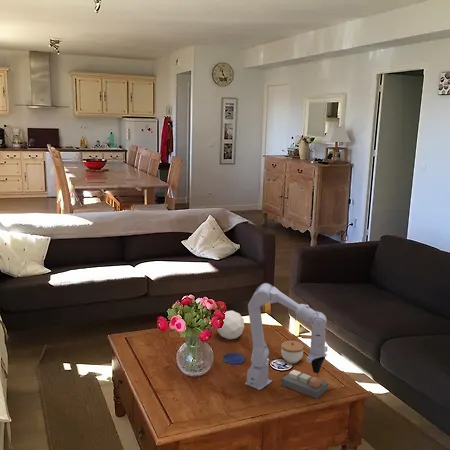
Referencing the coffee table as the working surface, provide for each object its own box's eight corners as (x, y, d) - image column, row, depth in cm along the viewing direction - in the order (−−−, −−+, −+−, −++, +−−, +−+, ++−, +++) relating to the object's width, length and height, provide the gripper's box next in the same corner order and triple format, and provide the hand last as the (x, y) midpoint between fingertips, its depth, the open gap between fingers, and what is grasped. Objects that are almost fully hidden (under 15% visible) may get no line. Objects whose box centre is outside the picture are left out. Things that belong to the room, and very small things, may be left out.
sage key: (306, 385, 216) (306, 379, 215) (298, 382, 218) (299, 376, 218) (310, 381, 219) (311, 376, 218) (303, 378, 221) (303, 373, 220)
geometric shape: (231, 349, 264) (226, 335, 253) (213, 331, 273) (208, 316, 262) (251, 332, 268) (248, 317, 257) (233, 315, 277) (229, 300, 266)
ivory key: (296, 381, 219) (296, 375, 218) (288, 378, 221) (289, 372, 221) (300, 377, 222) (301, 372, 221) (293, 375, 224) (293, 369, 224)
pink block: (317, 389, 213) (317, 383, 212) (309, 386, 215) (309, 380, 215) (321, 385, 216) (321, 379, 215) (313, 382, 218) (313, 377, 217)
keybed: (316, 398, 210) (317, 392, 209) (281, 384, 220) (281, 378, 220) (327, 389, 218) (328, 382, 217) (293, 376, 228) (293, 370, 227)
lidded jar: (295, 368, 235) (296, 349, 233) (276, 361, 242) (276, 342, 240) (307, 359, 244) (308, 341, 242) (287, 353, 250) (288, 335, 248)
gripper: (318, 351, 203) (316, 382, 206) (334, 339, 214) (332, 368, 217) (302, 346, 207) (301, 376, 210) (319, 334, 219) (317, 363, 221)
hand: (316, 372), depth 214 cm, fingers closed
